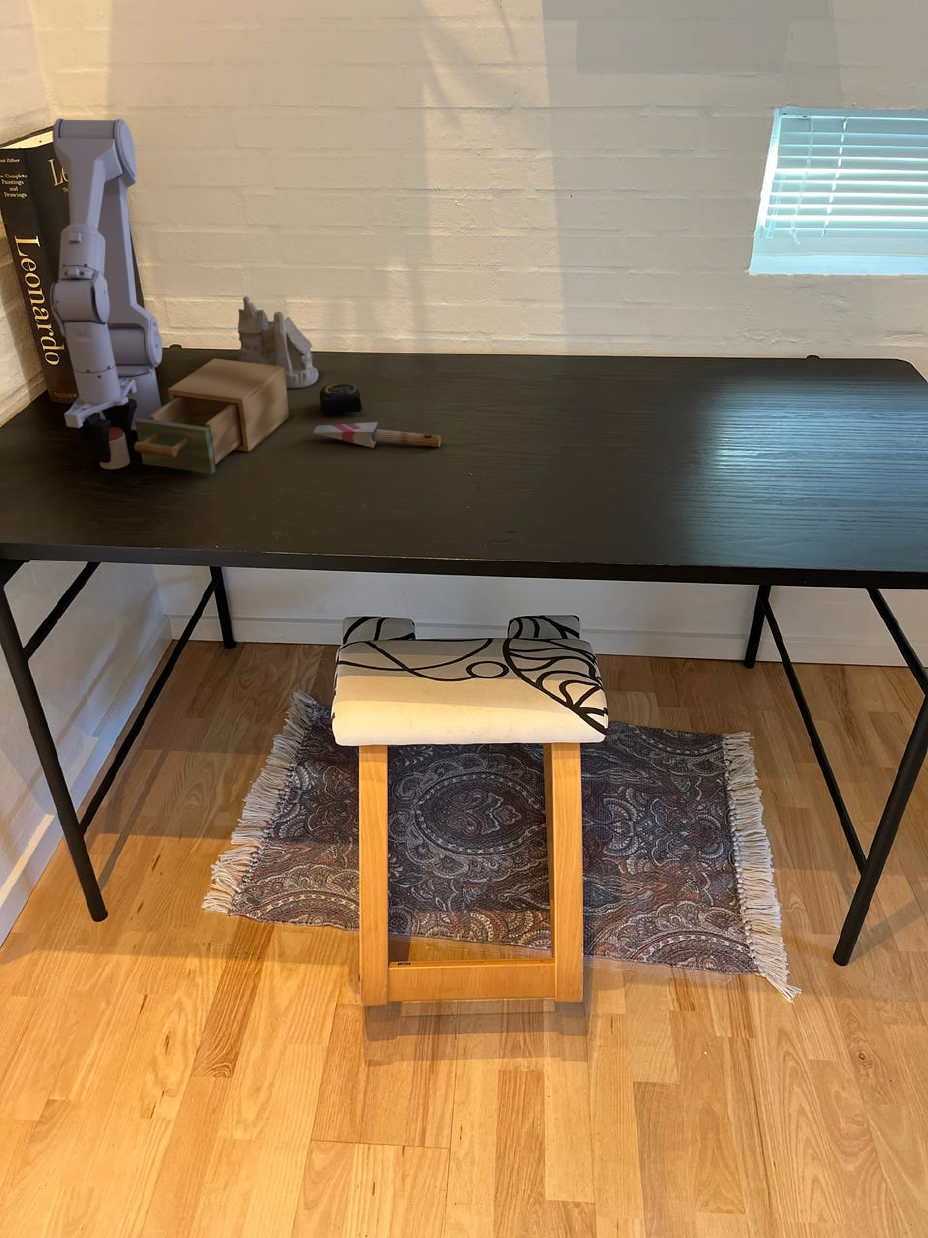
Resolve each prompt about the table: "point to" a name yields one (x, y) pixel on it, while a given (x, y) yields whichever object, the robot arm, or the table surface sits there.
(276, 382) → the cabinet
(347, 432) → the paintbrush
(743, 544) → the table surface
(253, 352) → the ceramic cottage
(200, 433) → the drawer
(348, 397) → the tape measure
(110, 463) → the paint pot
